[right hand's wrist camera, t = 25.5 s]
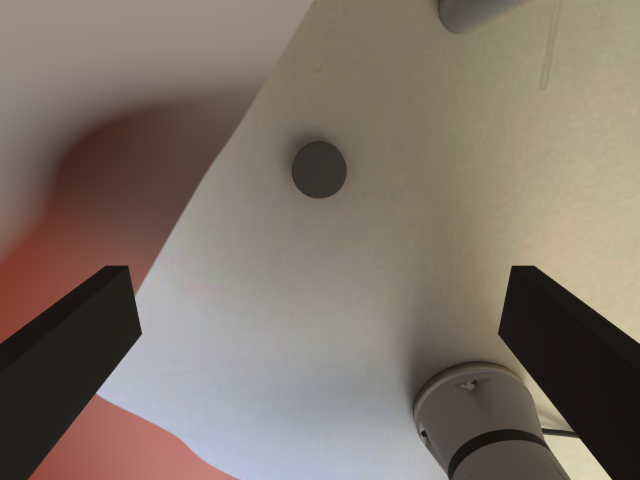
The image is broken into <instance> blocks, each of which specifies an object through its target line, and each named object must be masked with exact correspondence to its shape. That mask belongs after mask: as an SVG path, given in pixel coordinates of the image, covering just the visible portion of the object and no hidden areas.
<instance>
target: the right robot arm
mask: <svg viewBox="0 0 640 480" xmlns="http://www.w3.org/2000/svg"><path fill="white" fill-rule="evenodd" d="M141 335H142V332H141V327H140V322H139V317H138V312H137V307H136V302H135V297H134V292H133V287H132V282H131V277H130V273H129V267H128V266H105V267H103V268H102V269H101V270H99V271H98V272H97V273H95V274H94V275H93V276H91V277H90V278H89V279H87V280H86V281H85V282H83V283H82V284H80V285H79V286H78V287H76V288H75V289H74V290H72V291H71V292H70V293H68V294H67V295H66V296H64V297H63V298H62V299H60V300H59V301H58V302H56V303H55V304H53V305H52V306H51V307H49V308H48V309H47V310H45V311H44V312H43V313H41V314H40V315H39V316H37V317H36V318H35V319H33V320H32V321H31V322H29V323H28V324H26V325H25V326H24V327H23V328H21V329H20V330H18V331H17V332H16V333H14V334H13V335H12V336H10V337H9V338H8V339H6V340H5V341H4V342H2V343H1V344H0V480H28V479H29V478H30V476H31V475H32V474H33V472H34V471H35V470H36V469H37V467H38V466H39V465H40V464H41V462H42V461H43V460H44V458H45V457H46V456H47V455H48V453H49V452H50V451H51V449H52V448H53V447H54V446H55V444H56V443H57V442H58V440H59V439H60V438H61V437H62V435H63V434H64V433H65V432H66V430H67V429H68V428H69V426H70V425H71V424H72V423H73V421H74V420H75V419H76V418H77V416H78V415H79V414H80V412H81V411H82V410H83V409H84V407H85V406H86V405H87V404H88V402H89V401H90V400H91V398H92V397H93V396H94V395H95V393H96V392H97V391H98V390H99V388H100V387H101V386H102V384H103V383H104V382H105V381H106V379H107V378H108V377H109V375H110V374H111V373H112V372H113V370H114V369H115V368H116V367H117V365H118V364H119V363H120V361H121V360H122V359H123V358H124V356H125V355H126V354H127V353H128V351H129V350H130V349H131V347H132V346H133V345H134V344H135V342H136V341H137V340H138V338H139V337H140V336H141ZM498 335H499V336H500V337H501V338H502V340H503V341H504V342H505V344H506V345H507V346H508V347H509V349H510V350H511V351H512V353H513V354H514V355H515V356H516V358H517V359H518V360H519V361H520V363H521V364H522V365H523V367H524V368H525V369H526V370H527V372H528V373H529V374H530V375H531V377H532V378H533V379H534V381H535V382H536V383H537V384H538V386H539V387H540V388H541V390H542V391H543V392H544V393H545V395H546V396H547V397H548V398H549V400H550V401H551V402H552V404H553V405H554V406H555V407H556V409H557V410H558V411H559V412H560V414H561V415H562V416H563V418H564V419H565V420H566V421H567V423H568V424H569V425H570V427H571V428H572V429H573V430H574V432H571V431H564V430H554V429H544V428H541V426H540V422H539V419H538V415H537V412H536V408H535V404H534V401H533V398H532V396H531V394H530V392H529V391H528V389H527V388H526V387H525V385H524V384H523V382H522V381H521V380H520V379H519V378H518V377H517V376H516V375H515V374H514V373H513V372H511V371H510V370H508V369H506V368H504V367H501V366H499V365H495V364H490V363H467V364H462V365H458V366H455V367H452V368H449V369H447V370H445V371H443V372H441V373H439V374H438V375H436V376H435V377H434V378H432V379H431V380H430V381H429V382H428V383H427V384H426V385H425V386H424V387H423V388H422V390H421V391H420V393H419V394H418V396H417V398H416V401H415V404H414V411H413V415H414V421H415V424H416V428H417V431H418V434H419V436H420V438H421V440H422V442H423V443H424V445H425V446H426V447H427V449H428V450H429V451H430V453H431V454H432V456H433V457H434V458H435V460H436V461H437V462H438V464H439V465H440V466H441V468H442V469H443V470H444V472H445V473H446V474H447V476H448V479H449V480H571V479H570V478H569V476H568V475H567V473H566V472H565V470H564V469H563V467H562V466H561V465H560V463H559V462H558V460H557V459H556V457H555V456H554V454H553V453H552V451H551V450H550V448H549V447H548V445H547V444H546V442H545V440H544V436H543V434H546V435H557V436H567V437H574V438H580V439H581V441H582V442H583V443H584V444H585V446H586V447H587V448H588V449H589V451H590V452H591V453H592V455H593V456H594V457H595V458H596V460H597V461H598V462H599V464H600V465H601V466H602V467H603V469H604V470H605V471H606V472H607V474H608V475H609V476H610V478H611V479H612V480H640V344H639V343H638V342H636V341H635V340H634V339H632V338H631V337H630V336H628V335H627V334H626V333H624V332H623V331H622V330H620V329H619V328H618V327H616V326H615V325H613V324H612V323H611V322H609V321H608V320H607V319H605V318H604V317H603V316H601V315H600V314H599V313H597V312H596V311H595V310H593V309H592V308H591V307H589V306H588V305H587V304H585V303H584V302H582V301H581V300H580V299H578V298H577V297H576V296H574V295H573V294H572V293H570V292H569V291H568V290H566V289H565V288H564V287H562V286H561V285H560V284H558V283H557V282H555V281H554V280H553V279H551V278H550V277H549V276H547V275H546V274H545V273H543V272H542V271H541V270H539V269H538V268H537V267H535V266H512V267H511V272H510V277H509V282H508V287H507V292H506V297H505V302H504V307H503V312H502V317H501V322H500V327H499V332H498Z"/></svg>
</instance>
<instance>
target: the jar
mask: <svg viewBox="0 0 640 480" xmlns="http://www.w3.org/2000/svg"><path fill="white" fill-rule="evenodd" d="M529 1H531V0H440V3H439V15H440V19H441V21H442V23H443V25H444V26H445V27H446V28H447V29H448V30H449V31H451V32H453V33H457V34H463V33H467V32H470V31H472V30H474V29H476V28H478V27H480V26H482V25H484V24H486V23H488V22H490V21H492V20H494V19H496V18H498V17H500V16H502V15H503V14H505V13H507V12H509V11H511V10H513V9H515V8H517V7H519V6H521V5H523V4H525V3H527V2H529Z"/></svg>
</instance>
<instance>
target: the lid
mask: <svg viewBox="0 0 640 480" xmlns="http://www.w3.org/2000/svg"><path fill="white" fill-rule="evenodd" d="M292 176H293V180H294V182H295V184H296V186H297V188H298V189H299V190H300V191H301V192H302V193H304V194H305V195H307V196H309V197H313V198H326V197H329V196H331V195H333V194H335V193H336V192H337V191H338V190H339V189H340V188H341V187H342V185H343V183H344V181H345V178H346V164H345V161H344V158H343V156H342V154H341V153H340V152H339V150H338V149H337V148H336V147H334V146H333V145H331V144H329V143H326V142H313V143H310V144H308V145H306V146H304V147H303V148H302V149H301V150H300V151H299V152H298V154H297V155H296V157H295V160H294V162H293V166H292Z"/></svg>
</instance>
